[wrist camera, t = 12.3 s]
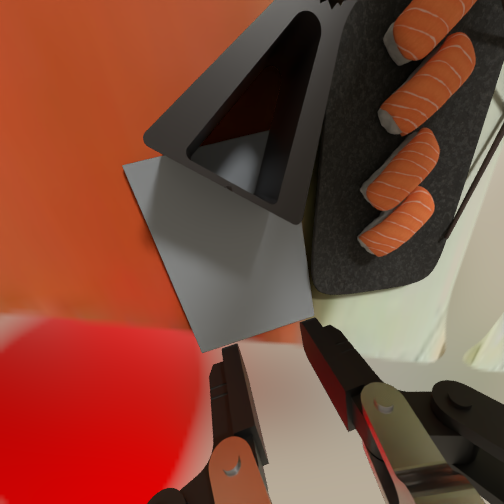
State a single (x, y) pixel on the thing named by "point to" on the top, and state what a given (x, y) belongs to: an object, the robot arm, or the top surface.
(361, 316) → the top surface
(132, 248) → the top surface
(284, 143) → the phone stand
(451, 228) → the sushi plate
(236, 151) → the mat
